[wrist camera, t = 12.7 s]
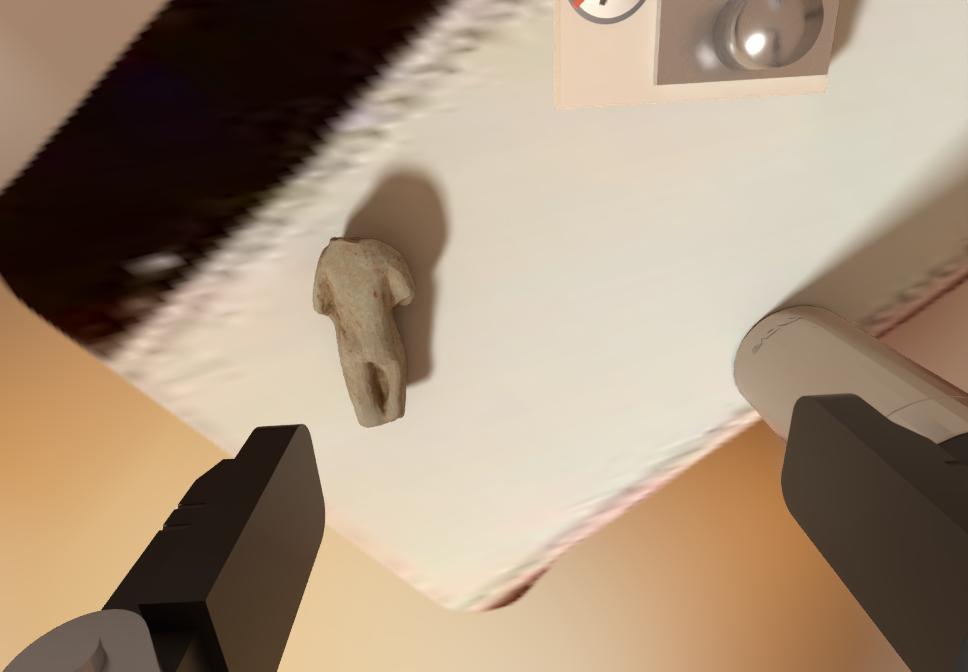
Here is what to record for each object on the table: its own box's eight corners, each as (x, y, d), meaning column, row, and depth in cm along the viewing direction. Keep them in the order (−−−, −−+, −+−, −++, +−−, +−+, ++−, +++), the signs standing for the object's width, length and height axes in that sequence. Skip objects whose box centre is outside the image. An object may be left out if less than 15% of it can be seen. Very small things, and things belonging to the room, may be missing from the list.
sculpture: (437, 395, 46) (411, 215, 40) (430, 431, 42) (399, 236, 35) (351, 400, 47) (311, 223, 40) (336, 435, 43) (288, 245, 36)
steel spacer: (796, 26, 32) (840, 16, 29) (744, 86, 33) (778, 84, 30) (750, -26, 31) (789, -43, 28) (697, 38, 32) (727, 30, 29)
